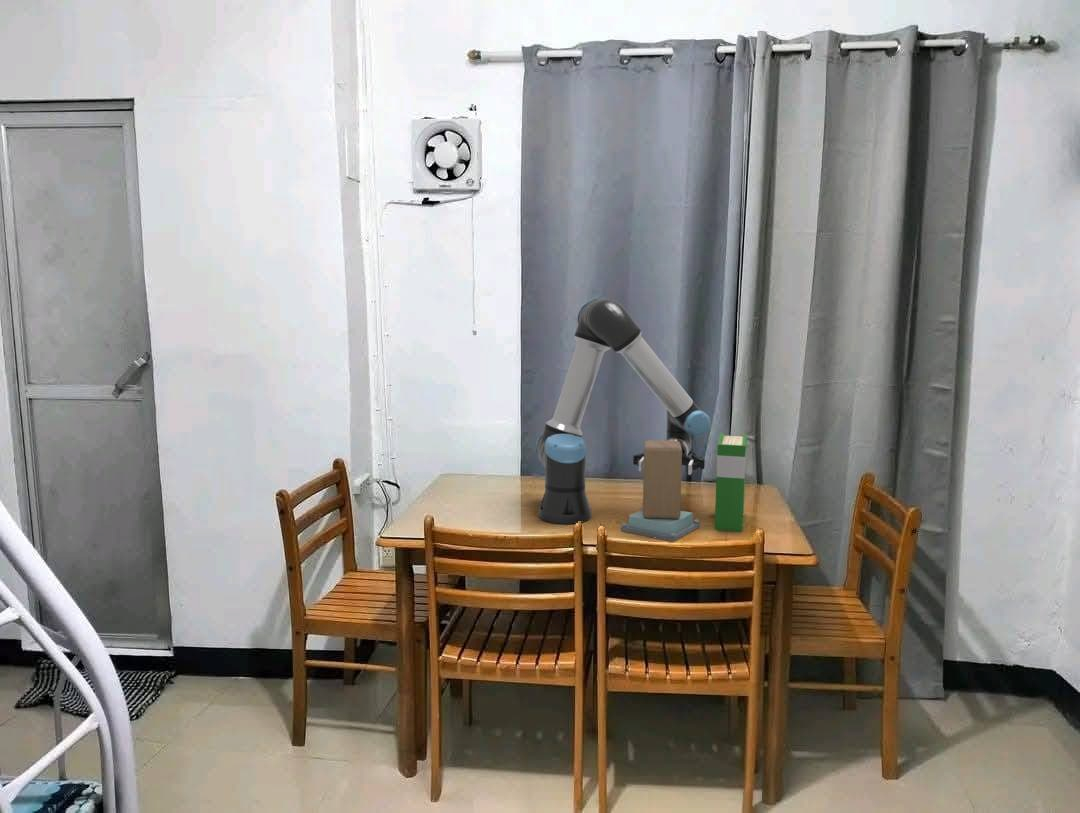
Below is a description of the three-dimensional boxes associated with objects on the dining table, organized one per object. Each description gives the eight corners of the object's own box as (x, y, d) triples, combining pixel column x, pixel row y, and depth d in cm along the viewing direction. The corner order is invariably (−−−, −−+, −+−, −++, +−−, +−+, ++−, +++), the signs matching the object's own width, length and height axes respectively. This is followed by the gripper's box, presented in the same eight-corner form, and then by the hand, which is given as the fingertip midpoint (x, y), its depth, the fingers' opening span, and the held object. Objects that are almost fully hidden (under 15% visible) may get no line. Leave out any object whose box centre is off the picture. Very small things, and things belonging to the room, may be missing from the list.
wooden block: (678, 509, 225) (680, 440, 222) (680, 520, 215) (682, 447, 212) (642, 508, 226) (644, 439, 223) (643, 518, 216) (644, 446, 213)
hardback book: (717, 511, 238) (720, 432, 234) (743, 513, 236) (746, 434, 232) (714, 529, 221) (717, 444, 217) (742, 531, 219) (745, 446, 215)
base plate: (621, 530, 219) (621, 516, 219) (648, 517, 232) (649, 503, 231) (673, 542, 210) (674, 526, 209) (699, 527, 223) (700, 512, 222)
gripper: (716, 467, 237) (710, 484, 217) (633, 462, 244) (619, 478, 224) (717, 442, 236) (711, 457, 216) (633, 437, 243) (620, 452, 223)
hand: (664, 468), depth 220 cm, fingers open, 13 cm apart
